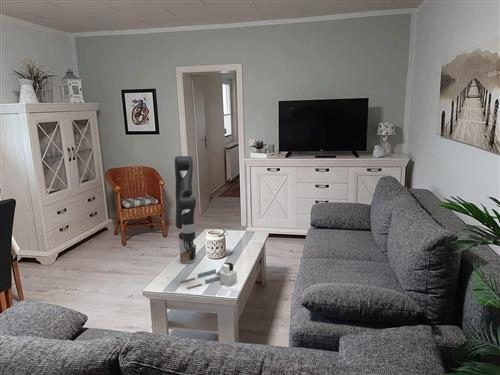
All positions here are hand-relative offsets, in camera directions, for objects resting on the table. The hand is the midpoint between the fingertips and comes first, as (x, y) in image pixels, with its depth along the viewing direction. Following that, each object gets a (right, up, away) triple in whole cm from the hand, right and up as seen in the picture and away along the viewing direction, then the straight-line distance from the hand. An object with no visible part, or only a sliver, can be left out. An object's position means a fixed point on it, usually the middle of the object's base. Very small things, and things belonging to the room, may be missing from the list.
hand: (190, 258), depth 224 cm
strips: (0, -16, +2) cm, 16 cm away
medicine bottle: (+23, -15, +2) cm, 27 cm away
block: (-1, -1, -1) cm, 1 cm away
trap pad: (+18, -13, +13) cm, 26 cm away
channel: (+11, -14, +9) cm, 20 cm away
